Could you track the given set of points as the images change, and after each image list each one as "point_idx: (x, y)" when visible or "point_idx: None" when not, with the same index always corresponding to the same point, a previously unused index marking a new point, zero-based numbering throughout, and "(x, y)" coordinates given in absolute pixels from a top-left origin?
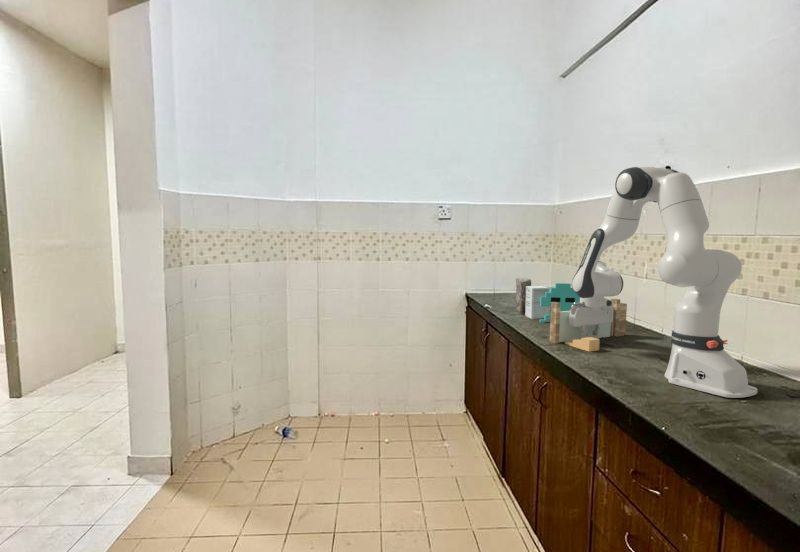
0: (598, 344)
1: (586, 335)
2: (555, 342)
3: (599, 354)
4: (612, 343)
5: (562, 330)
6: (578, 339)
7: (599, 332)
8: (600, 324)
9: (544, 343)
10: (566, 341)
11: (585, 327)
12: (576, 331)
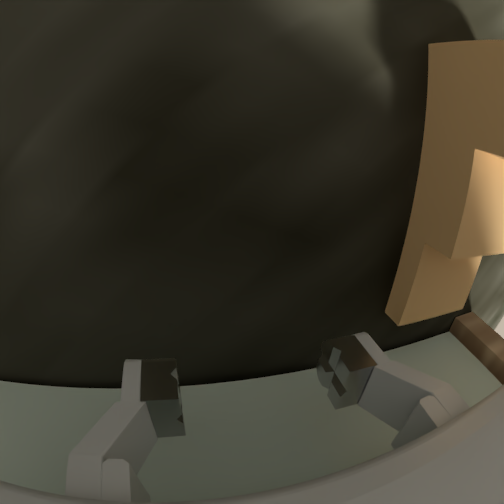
0: (478, 44)
1: (345, 343)
2: (476, 316)
3: (484, 5)
4: (26, 194)
5: (478, 389)
6: (488, 246)
7: (33, 424)
8: (86, 499)
9: None
10: (461, 303)
11: (434, 406)
12: (353, 428)
